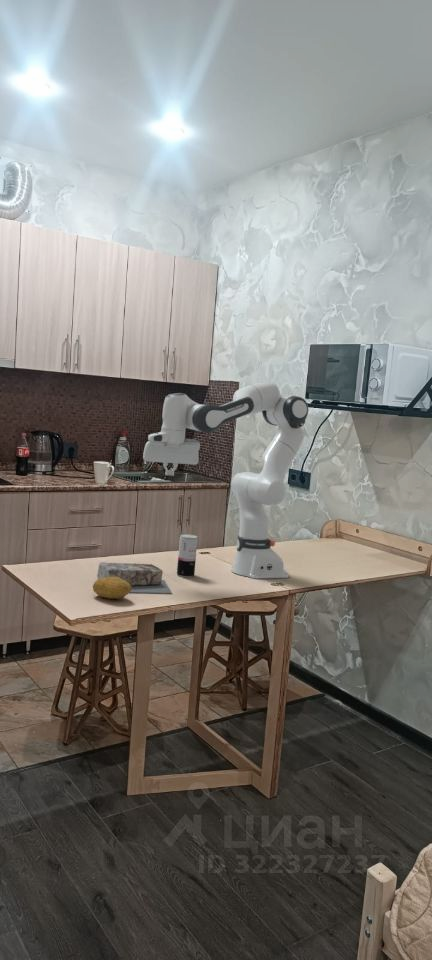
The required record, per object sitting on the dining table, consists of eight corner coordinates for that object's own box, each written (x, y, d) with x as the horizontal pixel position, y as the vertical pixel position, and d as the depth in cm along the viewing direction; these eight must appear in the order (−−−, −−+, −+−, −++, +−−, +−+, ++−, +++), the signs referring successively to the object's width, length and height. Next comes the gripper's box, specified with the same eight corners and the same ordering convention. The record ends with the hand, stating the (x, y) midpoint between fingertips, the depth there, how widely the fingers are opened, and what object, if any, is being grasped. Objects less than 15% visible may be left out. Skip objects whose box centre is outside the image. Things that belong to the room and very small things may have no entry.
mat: (164, 581, 254) (164, 580, 254) (171, 594, 239) (172, 592, 239) (111, 579, 250) (111, 578, 250) (115, 592, 234) (115, 591, 234)
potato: (109, 591, 235) (110, 571, 235) (136, 601, 228) (137, 580, 227) (87, 595, 228) (89, 574, 228) (114, 605, 220) (116, 584, 220)
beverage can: (173, 574, 266) (176, 534, 264) (187, 572, 270) (190, 533, 268) (183, 578, 261) (187, 538, 259) (197, 576, 265) (201, 537, 263)
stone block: (163, 566, 246) (107, 566, 237) (162, 586, 246) (106, 587, 237) (150, 561, 258) (96, 562, 249) (149, 580, 258) (95, 581, 249)
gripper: (198, 439, 264) (195, 475, 265) (144, 434, 259) (141, 472, 260) (202, 440, 258) (199, 478, 259) (146, 436, 253) (143, 474, 254)
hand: (169, 475), depth 260 cm, fingers closed
